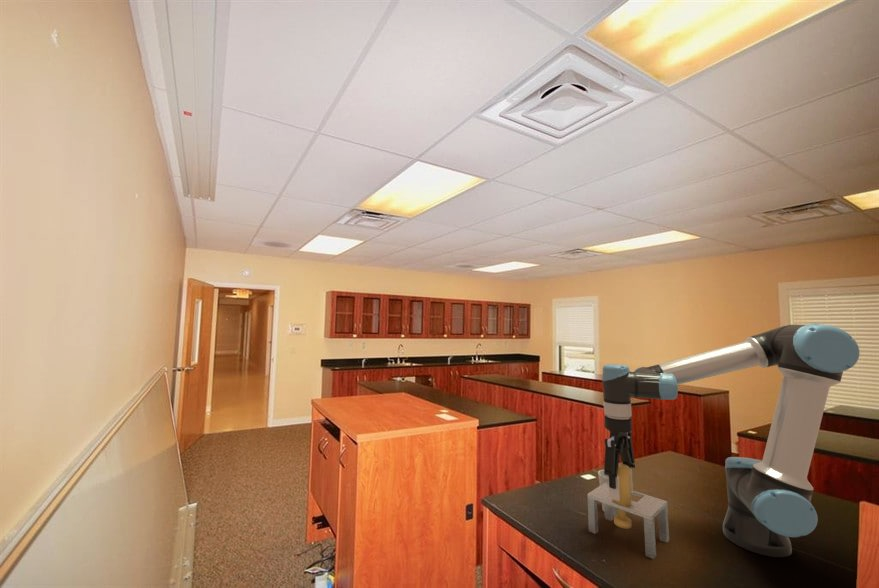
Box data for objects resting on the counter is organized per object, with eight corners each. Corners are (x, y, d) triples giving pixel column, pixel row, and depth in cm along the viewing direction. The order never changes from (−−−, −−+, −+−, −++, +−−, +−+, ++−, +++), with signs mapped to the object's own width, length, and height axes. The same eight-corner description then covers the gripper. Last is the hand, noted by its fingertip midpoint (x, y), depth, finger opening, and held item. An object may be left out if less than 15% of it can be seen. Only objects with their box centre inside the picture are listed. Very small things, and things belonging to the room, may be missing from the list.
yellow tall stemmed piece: (635, 524, 106) (632, 466, 107) (628, 531, 102) (625, 470, 104) (617, 517, 109) (615, 461, 111) (610, 523, 106) (608, 465, 108)
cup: (598, 513, 121) (597, 476, 122) (600, 503, 128) (598, 468, 129) (625, 519, 117) (623, 480, 118) (625, 508, 124) (623, 472, 125)
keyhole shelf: (669, 540, 105) (666, 501, 106) (653, 559, 97) (651, 516, 98) (607, 516, 119) (605, 481, 120) (588, 531, 110) (587, 493, 111)
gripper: (619, 408, 119) (622, 479, 116) (588, 420, 104) (592, 501, 102) (644, 412, 113) (648, 487, 111) (615, 425, 99) (619, 511, 97)
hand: (621, 494), depth 107 cm, fingers open, 9 cm apart
